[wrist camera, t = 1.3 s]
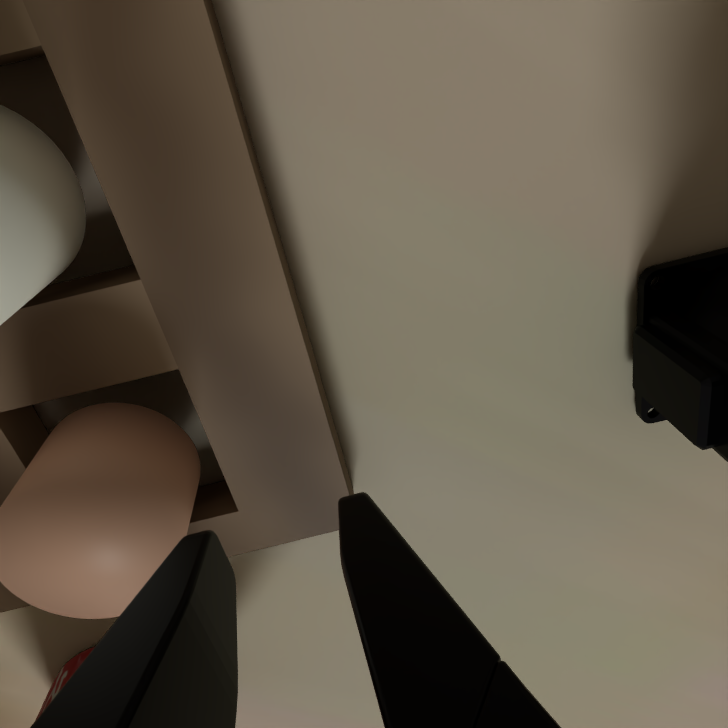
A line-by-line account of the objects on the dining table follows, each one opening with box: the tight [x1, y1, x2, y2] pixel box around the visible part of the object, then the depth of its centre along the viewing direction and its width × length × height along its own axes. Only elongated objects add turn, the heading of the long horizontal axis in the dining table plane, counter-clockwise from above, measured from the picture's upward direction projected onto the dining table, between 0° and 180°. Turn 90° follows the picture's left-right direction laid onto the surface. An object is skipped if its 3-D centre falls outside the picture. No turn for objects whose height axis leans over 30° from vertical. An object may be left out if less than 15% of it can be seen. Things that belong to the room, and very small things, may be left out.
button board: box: [0, 0, 354, 612], centre depth 16 cm, size 14×28×2 cm, turn 12°
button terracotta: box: [0, 402, 201, 619], centre depth 17 cm, size 5×5×4 cm
